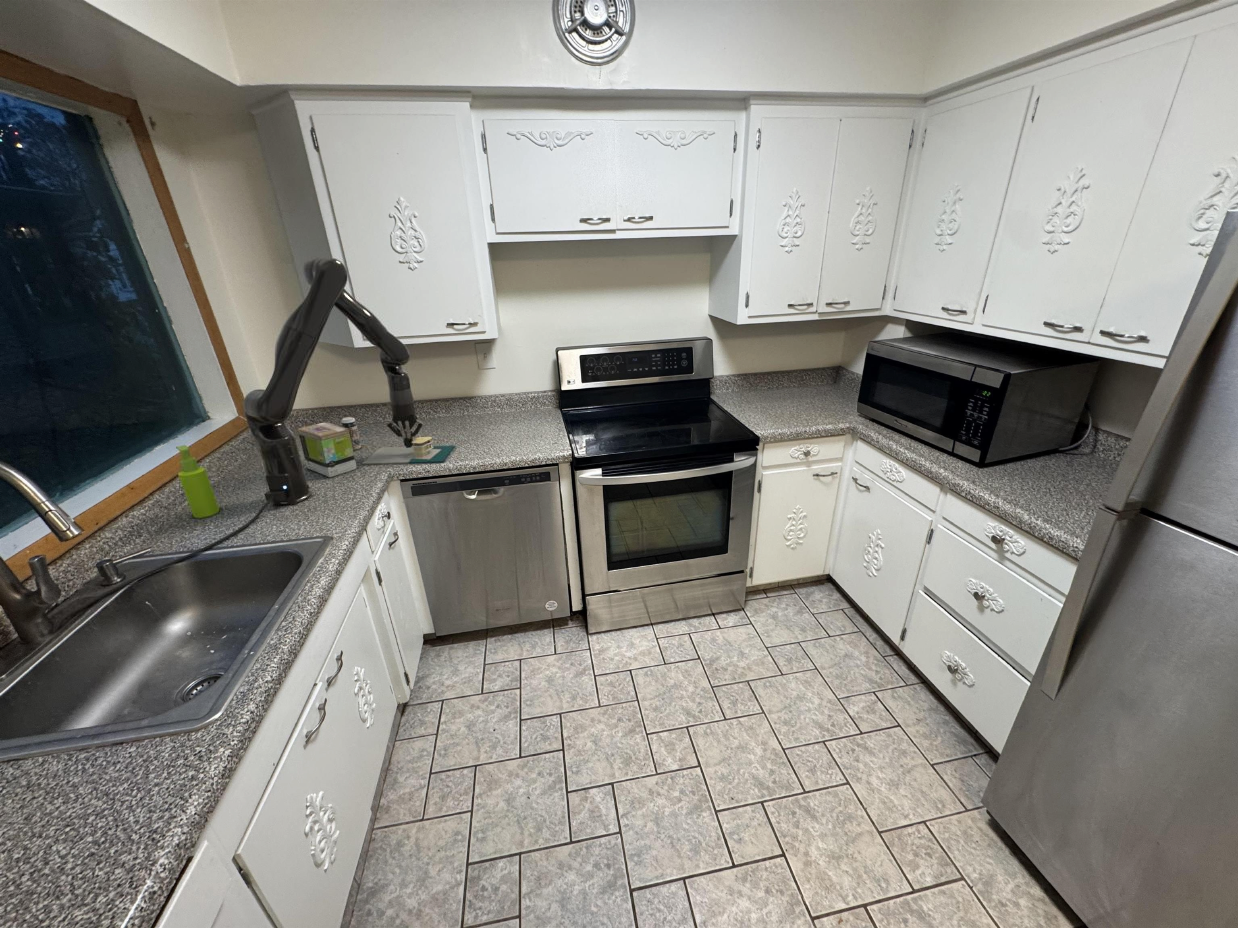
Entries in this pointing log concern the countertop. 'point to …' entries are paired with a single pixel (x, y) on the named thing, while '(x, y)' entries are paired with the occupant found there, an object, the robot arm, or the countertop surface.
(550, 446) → the countertop surface
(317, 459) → the tea box
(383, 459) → the board
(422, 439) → the stacked layers on plate
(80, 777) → the countertop surface
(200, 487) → the soap dispenser
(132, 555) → the countertop surface
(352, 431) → the beer can
